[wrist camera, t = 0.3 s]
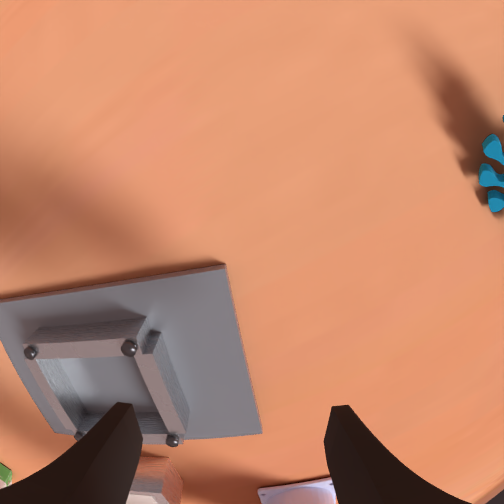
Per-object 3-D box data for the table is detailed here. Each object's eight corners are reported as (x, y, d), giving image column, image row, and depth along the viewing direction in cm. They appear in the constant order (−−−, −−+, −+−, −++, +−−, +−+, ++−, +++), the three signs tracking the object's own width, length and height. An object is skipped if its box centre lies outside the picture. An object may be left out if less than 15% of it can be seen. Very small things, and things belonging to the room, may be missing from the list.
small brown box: (183, 480, 26) (178, 515, 22) (134, 478, 26) (126, 510, 22) (168, 456, 25) (160, 493, 20) (116, 454, 25) (104, 488, 21)
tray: (261, 426, 23) (264, 460, 20) (57, 427, 24) (44, 452, 20) (225, 263, 19) (221, 289, 16) (-10, 300, 20) (-35, 320, 16)
